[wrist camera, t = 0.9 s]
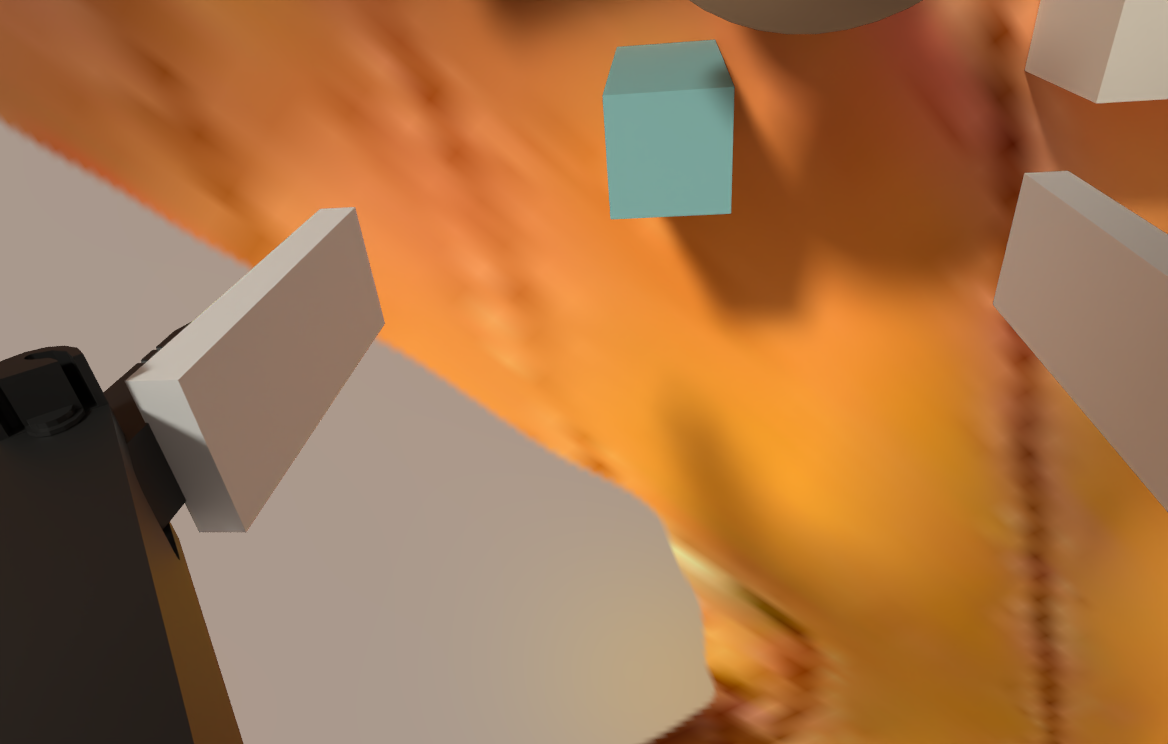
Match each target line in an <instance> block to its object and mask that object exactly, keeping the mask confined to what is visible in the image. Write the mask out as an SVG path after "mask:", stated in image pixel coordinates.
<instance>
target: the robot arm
mask: <svg viewBox="0 0 1168 744" xmlns="http://www.w3.org/2000/svg"><path fill="white" fill-rule="evenodd" d="M993 305H994V307H995V308H996V309H997V310H998V311H999V313H1000V314H1001V315H1002V316H1003V317H1004V318H1005V320H1006V321H1007V322H1008V323H1009V324H1010V326H1011V327H1012V328H1013V329H1014V330H1015V332H1016V333H1017V334H1018V335H1019V336H1020V337H1021V339H1022V340H1023V341H1024V342H1025V343H1026V345H1027V346H1028V347H1029V348H1030V349H1031V351H1032V352H1033V353H1034V354H1035V355H1036V356H1037V358H1038V359H1039V360H1040V361H1041V362H1042V364H1043V365H1044V366H1045V367H1046V368H1047V369H1048V371H1049V372H1050V373H1051V374H1052V375H1053V377H1054V378H1055V379H1056V380H1057V381H1058V383H1059V384H1060V385H1061V386H1062V387H1063V388H1064V390H1065V391H1066V392H1067V393H1068V394H1069V396H1070V397H1071V398H1072V399H1073V400H1074V402H1075V403H1076V404H1077V405H1078V406H1079V407H1080V409H1081V410H1082V411H1083V412H1084V413H1085V415H1086V416H1087V417H1088V418H1089V419H1090V421H1091V422H1092V423H1093V424H1094V425H1095V426H1096V428H1097V429H1098V430H1099V431H1100V432H1101V434H1102V435H1103V436H1104V437H1105V438H1106V439H1107V441H1108V442H1109V443H1110V444H1111V445H1112V447H1113V448H1114V449H1115V450H1116V451H1117V453H1118V454H1119V455H1120V456H1121V457H1122V458H1123V460H1124V461H1125V462H1126V463H1127V464H1128V466H1129V467H1130V468H1131V469H1132V470H1133V472H1134V473H1135V474H1136V475H1137V476H1138V477H1139V479H1140V480H1141V481H1142V482H1143V483H1144V485H1145V486H1146V487H1147V488H1148V489H1149V490H1150V492H1151V493H1152V494H1153V495H1154V496H1155V498H1156V499H1157V500H1158V501H1159V502H1160V504H1161V505H1162V506H1163V507H1164V508H1165V509H1166V511H1167V512H1168V234H1166V233H1165V232H1163V231H1162V230H1160V229H1158V228H1157V227H1155V226H1154V225H1152V224H1151V223H1149V222H1147V221H1146V220H1144V219H1143V218H1141V217H1140V216H1138V215H1137V214H1135V213H1133V212H1132V211H1130V210H1129V209H1127V208H1126V207H1124V206H1122V205H1121V204H1119V203H1118V202H1116V201H1115V200H1113V199H1111V198H1110V197H1108V196H1107V195H1105V194H1104V193H1102V192H1101V191H1099V190H1097V189H1096V188H1094V187H1093V186H1091V185H1090V184H1088V183H1086V182H1085V181H1083V180H1082V179H1080V178H1079V177H1077V176H1076V175H1074V174H1072V173H1071V172H1069V171H1054V172H1035V173H1024V177H1023V181H1022V185H1021V189H1020V193H1019V197H1018V202H1017V206H1016V210H1015V214H1014V218H1013V222H1012V227H1011V231H1010V235H1009V239H1008V243H1007V247H1006V251H1005V256H1004V260H1003V264H1002V268H1001V272H1000V276H999V281H998V285H997V289H996V293H995V297H994V301H993ZM384 324H385V322H384V318H383V314H382V310H381V306H380V302H379V299H378V295H377V291H376V287H375V283H374V279H373V275H372V271H371V267H370V263H369V260H368V256H367V252H366V248H365V244H364V240H363V236H362V232H361V228H360V225H359V221H358V217H357V213H356V209H355V207H349V208H329V209H320V210H318V211H317V212H316V213H315V214H314V215H313V216H312V217H310V218H309V219H308V220H307V221H306V222H305V223H304V224H303V225H301V226H300V227H299V228H298V229H297V230H296V231H295V232H293V233H292V234H291V235H290V236H289V237H288V238H287V239H285V240H284V241H283V242H282V243H281V244H280V245H279V246H278V247H276V248H275V249H274V250H273V251H272V252H271V253H270V254H268V255H267V256H266V257H265V258H264V259H263V260H262V261H261V262H259V263H258V264H257V265H256V266H255V267H254V268H253V269H251V270H250V271H249V272H248V273H247V274H246V275H245V276H244V277H242V278H241V279H240V280H239V281H238V282H237V283H236V284H235V285H233V286H232V287H231V288H230V289H229V290H228V291H227V292H225V293H224V294H223V295H222V296H221V297H220V298H219V299H218V300H216V301H215V302H214V303H213V304H212V305H211V306H210V307H208V308H207V309H206V310H205V311H204V312H203V313H202V314H200V315H199V316H198V317H197V318H196V319H195V320H194V321H192V322H190V323H188V324H186V325H185V326H183V327H181V328H179V329H177V330H175V331H174V332H173V333H172V334H170V335H169V336H168V337H167V338H166V339H165V340H164V341H162V342H161V343H160V344H159V345H158V346H157V347H156V348H157V349H156V350H152V351H151V352H150V353H149V354H147V355H146V356H145V357H144V358H143V359H142V360H141V361H142V362H141V363H137V364H136V365H135V366H134V367H132V368H131V369H130V370H129V371H128V372H127V373H126V374H124V375H123V376H122V377H121V378H120V379H119V380H117V381H116V382H115V383H114V384H113V385H112V386H111V387H110V388H108V389H107V390H106V391H105V392H104V393H103V392H102V390H101V388H100V386H99V384H98V382H97V380H96V378H95V376H94V374H93V372H92V370H91V369H90V367H89V364H88V363H87V361H86V359H85V357H84V355H83V353H82V352H81V351H80V350H79V349H78V348H75V347H69V346H56V347H45V348H41V349H37V350H33V351H28V352H24V353H22V354H19V355H16V356H13V357H11V358H8V359H5V360H3V361H1V362H0V744H243V741H242V738H241V734H240V732H239V728H238V725H237V722H236V719H235V716H234V712H233V709H232V706H231V703H230V700H229V696H228V693H227V690H226V687H225V684H224V681H223V678H222V674H221V671H220V668H219V665H218V661H217V659H216V655H215V652H214V649H213V646H212V642H211V639H210V636H209V633H208V630H207V627H206V623H205V620H204V617H203V614H202V611H201V607H200V605H199V601H198V598H197V595H196V592H195V588H194V586H193V582H192V579H191V576H190V573H189V570H188V566H187V563H186V560H185V557H184V553H183V551H182V547H181V544H180V541H179V538H178V536H177V534H176V532H175V530H174V528H173V527H172V525H171V523H170V520H171V519H172V518H173V517H174V515H175V514H176V513H177V512H178V510H179V509H180V508H181V507H182V505H183V504H184V503H185V504H186V506H187V508H188V510H189V512H190V514H191V516H192V518H193V520H194V522H195V524H196V527H197V528H198V531H199V532H247V530H248V529H249V527H250V526H251V524H252V523H253V521H254V520H255V518H256V516H257V515H258V514H259V512H260V510H261V509H262V508H263V506H264V505H265V503H266V502H267V500H268V499H269V497H270V495H271V494H272V493H273V491H274V489H275V488H276V487H277V485H278V484H279V482H280V481H281V479H282V477H283V476H284V475H285V473H286V472H287V470H288V469H289V467H290V466H291V464H292V463H293V461H294V460H295V458H296V457H297V455H298V454H299V452H300V451H301V449H302V448H303V446H304V445H305V443H306V441H307V440H308V439H309V437H310V435H311V434H312V432H313V431H314V429H315V428H316V426H317V425H318V423H319V422H320V420H321V419H322V417H323V416H324V414H325V413H326V411H327V410H328V408H329V407H330V405H331V404H332V402H333V401H334V399H335V398H336V396H337V395H338V393H339V392H340V390H341V388H342V387H343V386H344V384H345V383H346V381H347V380H348V378H349V377H350V375H351V374H352V372H353V371H354V369H355V368H356V366H357V365H358V363H359V362H360V360H361V358H362V357H363V356H364V354H365V353H366V351H367V350H368V348H369V347H370V345H371V344H372V342H373V341H374V339H375V338H376V336H377V335H378V333H379V332H380V330H381V329H382V327H383V326H384Z"/></svg>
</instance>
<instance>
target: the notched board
mask: <svg viewBox="0 0 1168 744" xmlns="http://www.w3.org/2000/svg"><path fill="white" fill-rule="evenodd" d="M1025 71H1026V72H1028V73H1031V74H1033V75H1035V76H1037V77H1039V78H1041V79H1044V80H1046V81H1048V82H1050V83H1052V84H1055V85H1057V86H1059V87H1061V88H1063V89H1066V90H1068V91H1070V92H1072V93H1074V94H1076V95H1079V96H1081V97H1083V98H1085V99H1087V100H1090V101H1092V102H1094V103H1112V102H1128V101H1145V100H1161V99H1168V0H1041V1H1040V5H1039V10H1038V14H1037V18H1036V23H1035V27H1034V32H1033V36H1032V40H1031V45H1030V49H1029V54H1028V58H1027V62H1026V67H1025Z"/></svg>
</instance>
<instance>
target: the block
mask: <svg viewBox="0 0 1168 744" xmlns="http://www.w3.org/2000/svg"><path fill="white" fill-rule="evenodd" d="M603 110H604V125H605V141H606V156H607V171H608V187H609V202H610V217H611V219H628V218H649V217H671V216H692V215H713V214H731V196H732V159H733V122H734V84H733V82H732V80H731V77H730V75H729V72H728V70H727V67H726V65H725V63H724V60H723V58H722V55H721V53H720V50H719V48H718V46H717V43H716V41H715V40H704V41H690V42H677V43H664V44H650V45H637V46H623V47H617V49H616V52H615V55H614V59H613V62H612V66H611V69H610V72H609V76H608V79H607V82H606V86H605V89H604V92H603Z"/></svg>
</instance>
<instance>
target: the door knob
mask: <svg viewBox="0 0 1168 744" xmlns="http://www.w3.org/2000/svg"><path fill="white" fill-rule="evenodd" d="M690 1H691V2H693V3H694V4H696V5H697V6H699V7H700V8H702V9H704V10H705V11H707V12H710V13H712V14H714V15H716V16H718V17H720V18H723V19H725V20H727V21H729V22H732V23H735V24H739V25H742V26H745V27H749V28H752V29H756V30H760V31H767V32H774V33H782V34H820V33H827V32H834V31H841V30H848V29H851V28H855V27H858V26H862V25H866V24H869V23H873V22H876V21H879V20H881V19H884V18H886V17H889V16H891V15H893V14H896V13H898V12H901V11H903V10H905V9H908V8H910V7H911V6H913V5H915V4H917V3H919V2H920V1H922V0H690Z"/></svg>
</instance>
